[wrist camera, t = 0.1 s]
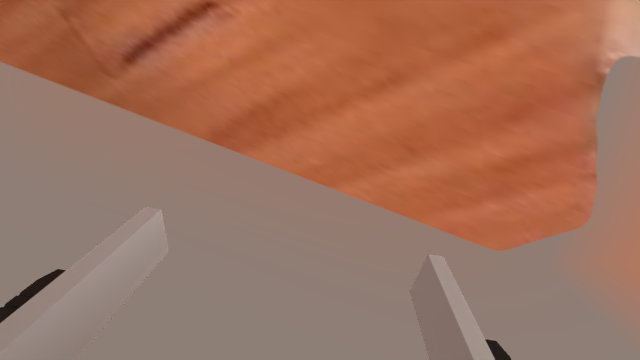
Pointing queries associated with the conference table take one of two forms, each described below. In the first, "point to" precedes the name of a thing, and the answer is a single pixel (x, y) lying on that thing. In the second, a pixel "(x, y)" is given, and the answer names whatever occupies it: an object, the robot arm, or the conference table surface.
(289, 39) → the conference table surface
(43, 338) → the robot arm
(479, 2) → the conference table surface
